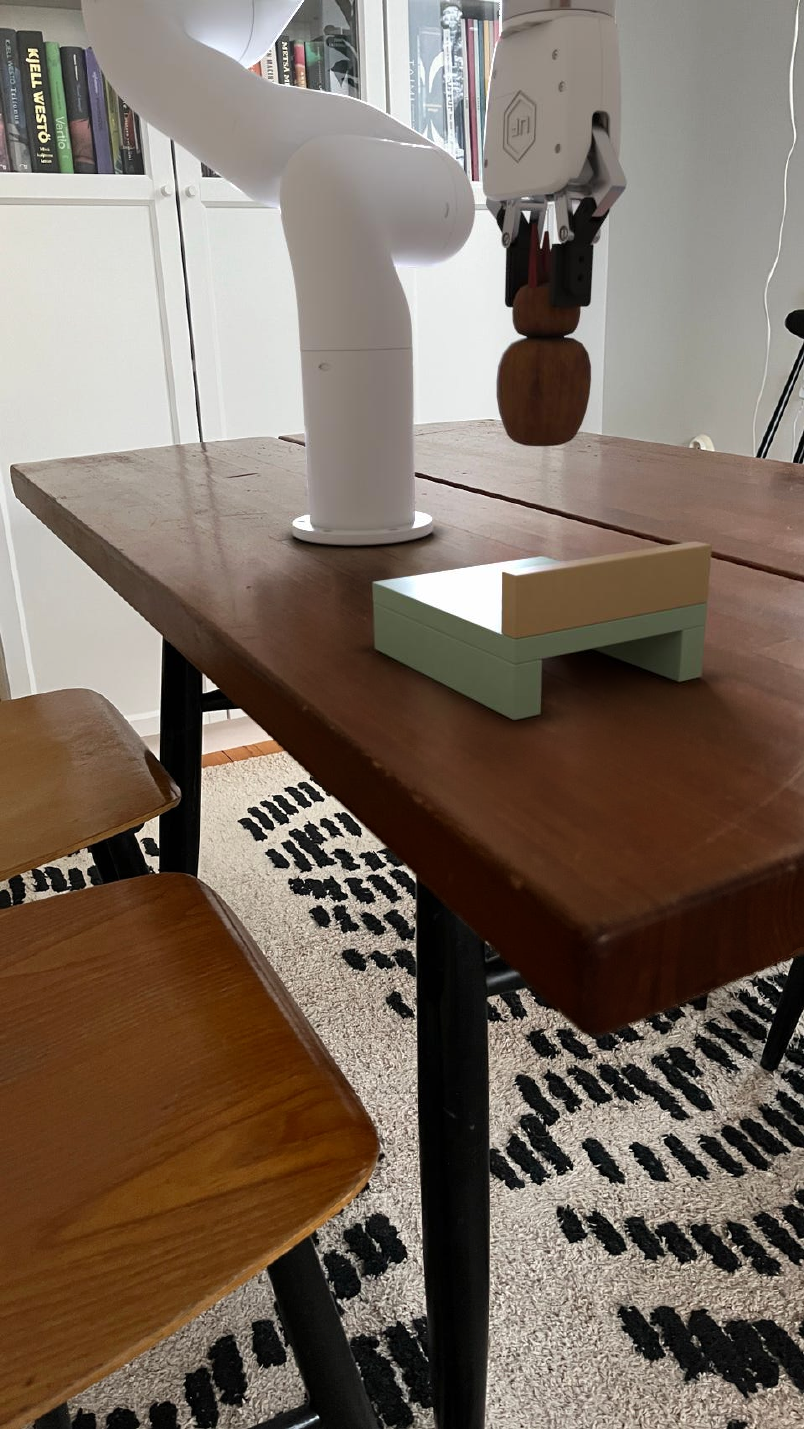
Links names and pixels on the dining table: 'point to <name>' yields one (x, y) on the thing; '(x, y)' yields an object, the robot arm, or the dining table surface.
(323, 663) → the dining table surface
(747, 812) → the dining table surface
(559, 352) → the wooden figurine
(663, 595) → the shelf
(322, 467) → the robot arm
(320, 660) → the dining table surface
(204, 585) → the dining table surface
